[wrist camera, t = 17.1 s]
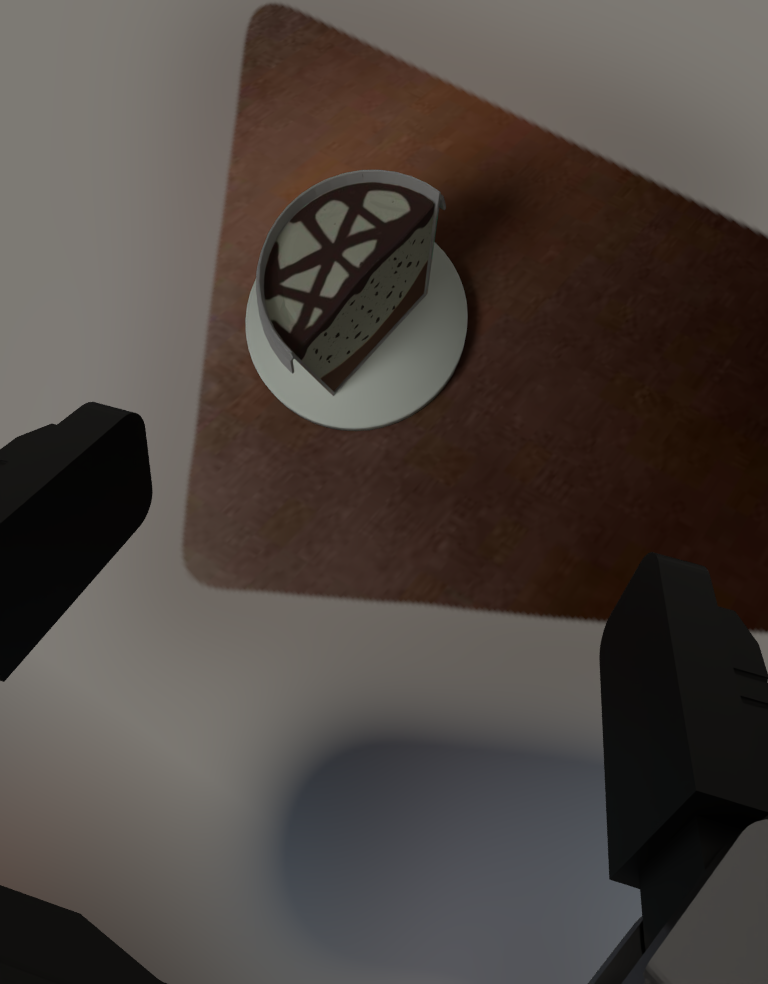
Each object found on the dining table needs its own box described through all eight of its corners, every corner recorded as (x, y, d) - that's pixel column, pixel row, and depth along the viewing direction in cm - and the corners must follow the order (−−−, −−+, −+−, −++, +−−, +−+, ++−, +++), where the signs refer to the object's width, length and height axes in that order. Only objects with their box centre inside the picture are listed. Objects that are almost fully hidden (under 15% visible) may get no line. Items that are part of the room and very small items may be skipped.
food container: (374, 223, 42) (358, 115, 32) (442, 278, 41) (447, 184, 31) (251, 354, 41) (197, 285, 32) (318, 412, 41) (283, 360, 31)
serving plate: (490, 249, 43) (492, 240, 41) (434, 455, 41) (434, 451, 40) (285, 203, 44) (281, 193, 43) (223, 400, 42) (217, 395, 41)
